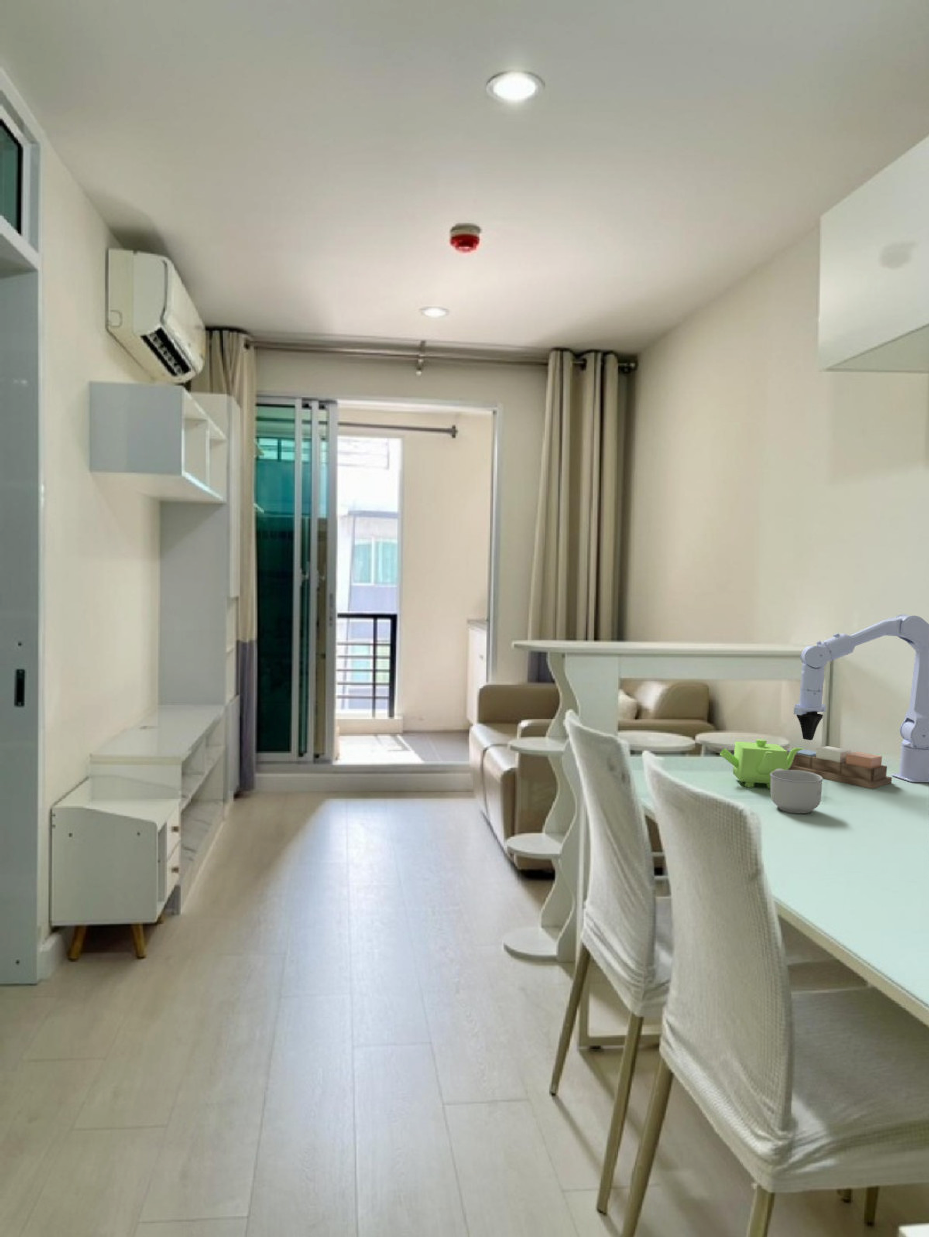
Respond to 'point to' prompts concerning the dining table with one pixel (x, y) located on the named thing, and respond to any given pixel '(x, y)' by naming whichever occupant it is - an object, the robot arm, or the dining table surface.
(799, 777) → the teacup
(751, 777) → the kettle
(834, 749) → the cream key
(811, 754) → the slate blue key
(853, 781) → the wooden compartment tray
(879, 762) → the terracotta key
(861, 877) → the dining table surface
